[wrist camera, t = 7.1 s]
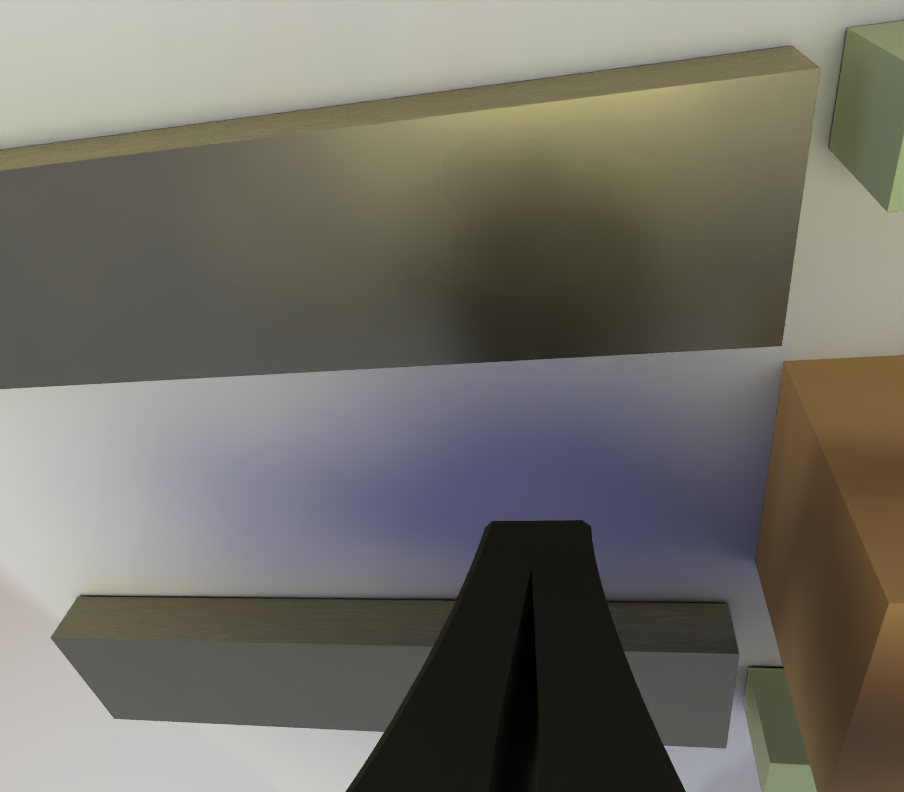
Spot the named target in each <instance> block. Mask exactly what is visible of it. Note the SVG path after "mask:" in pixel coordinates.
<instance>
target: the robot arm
mask: <svg viewBox="0 0 904 792" xmlns="http://www.w3.org/2000/svg"><path fill="white" fill-rule="evenodd" d="M346 792H686V791H685V789H684V787H683V785H682V783H681V781H680V779H679V777H678V775H677V773H676V771H675V769H674V767H673V764H672V762H671V760H670V758H669V756H668V754H667V752H666V750H665V747H664V745H663V743H662V741H661V739H660V736H659V734H658V732H657V730H656V727H655V725H654V723H653V721H652V718H651V716H650V714H649V712H648V710H647V707H646V705H645V703H644V700H643V698H642V695H641V693H640V691H639V688H638V686H637V683H636V681H635V679H634V676H633V673H632V671H631V668H630V666H629V663H628V660H627V658H626V655H625V652H624V650H623V647H622V644H621V642H620V639H619V637H618V634H617V631H616V628H615V625H614V622H613V620H612V617H611V614H610V611H609V607H608V604H607V601H606V597H605V594H604V591H603V587H602V584H601V580H600V576H599V572H598V568H597V564H596V559H595V554H594V548H593V542H592V533H591V526H590V525H588V524H587V523H585V522H584V521H583V520H563V521H492V522H491V523H490V524H488V525H487V526H486V527H485V529H484V532H483V535H482V538H481V541H480V544H479V547H478V550H477V552H476V555H475V557H474V560H473V562H472V565H471V567H470V570H469V572H468V574H467V577H466V579H465V582H464V584H463V586H462V588H461V590H460V593H459V595H458V597H457V599H456V601H455V603H454V606H453V608H452V610H451V612H450V614H449V616H448V618H447V620H446V622H445V624H444V626H443V628H442V630H441V632H440V634H439V636H438V638H437V640H436V642H435V644H434V646H433V648H432V650H431V652H430V654H429V655H428V657H427V659H426V661H425V663H424V665H423V667H422V668H421V670H420V672H419V674H418V676H417V677H416V679H415V681H414V682H413V684H412V686H411V688H410V689H409V691H408V693H407V695H406V696H405V698H404V700H403V702H402V703H401V705H400V707H399V708H398V710H397V712H396V714H395V715H394V717H393V719H392V721H391V722H390V724H389V726H388V727H387V729H386V731H385V732H384V734H383V735H382V737H381V739H380V740H379V742H378V743H377V745H376V746H375V748H374V750H373V751H372V753H371V754H370V756H369V757H368V759H367V761H366V762H365V764H364V765H363V767H362V768H361V770H360V771H359V773H358V774H357V776H356V777H355V779H354V780H353V782H352V783H351V785H350V786H349V788H348V789H347V790H346Z"/></svg>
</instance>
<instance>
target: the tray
mask: <svg viewBox="0 0 904 792" xmlns="http://www.w3.org/2000/svg"><path fill="white" fill-rule="evenodd" d="M829 149H830V150H831V151H832V152H833V153H834V155H835V156H836V157H837V158H838V159H839V160H840V161H841V162H842V163H843V164H844V165H845V167H846V168H847V169H848V170H849V171H850V172H851V173H852V174H853V175H854V176H855V177H856V179H857V180H858V181H859V182H860V183H861V184H862V185H863V186H864V187H865V188H866V189H867V190H868V192H869V193H870V194H871V195H872V196H873V197H874V198H875V199H876V200H877V201H878V202H879V204H880V205H881V206H882V207H883V208H884V209H885V210H886V211H887V212H894V211H904V20H903V21H896V22H888V23H881V24H873V25H866V26H858V27H851V28H847V34H846V40H845V47H844V53H843V59H842V66H841V72H840V79H839V85H838V92H837V98H836V105H835V111H834V118H833V124H832V131H831V137H830V144H829ZM743 704H744V708H745V713H746V718H747V723H748V727H749V732H750V737H751V742H752V747H753V751H754V756H755V761H756V766H757V770H758V775H759V780H760V785H761V790H762V792H817V790H816V786H815V782H814V779H813V775H812V771H811V767H810V764H809V760H808V756H807V753H806V749H805V745H804V741H803V738H802V734H801V730H800V726H799V723H798V719H797V715H796V712H795V708H794V704H793V700H792V697H791V693H790V689H789V685H788V682H787V678H786V674H785V670H784V669H782V668H749V669H748V675H747V682H746V688H745V695H744V701H743Z"/></svg>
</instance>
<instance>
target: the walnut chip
mask: <svg viewBox="0 0 904 792" xmlns="http://www.w3.org/2000/svg"><path fill="white" fill-rule="evenodd" d="M755 562H756V566H757V570H758V574H759V577H760V581H761V585H762V588H763V592H764V596H765V600H766V603H767V607H768V611H769V615H770V618H771V622H772V626H773V629H774V633H775V637H776V641H777V644H778V648H779V652H780V656H781V659H782V663H783V667H784V670H785V674H786V678H787V682H788V685H789V689H790V693H791V697H792V700H793V704H794V708H795V712H796V715H797V719H798V723H799V726H800V730H801V734H802V738H803V741H804V745H805V749H806V753H807V756H808V760H809V764H810V767H811V771H812V775H813V779H814V782H815V786H816V790H817V792H904V355H900V356H880V357H860V358H840V359H820V360H800V361H784V365H783V372H782V378H781V385H780V392H779V399H778V406H777V413H776V420H775V427H774V434H773V441H772V448H771V455H770V462H769V469H768V476H767V482H766V489H765V496H764V503H763V510H762V517H761V524H760V531H759V538H758V545H757V552H756V559H755Z"/></svg>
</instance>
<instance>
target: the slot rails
mask: <svg viewBox="0 0 904 792" xmlns="http://www.w3.org/2000/svg"><path fill="white" fill-rule="evenodd" d="M819 72H820V68H819V67H818V66H817V65H816V64H814V63H813V62H812V61H811V60H809V59H808V58H807V57H806V56H804V55H803V54H802V53H801V52H799V51H798V50H797V49H796V48H794V47H793V46H788V47H780V48H773V49H765V50H758V51H750V52H742V53H735V54H727V55H720V56H712V57H704V58H697V59H689V60H682V61H674V62H666V63H659V64H651V65H644V66H636V67H628V68H621V69H613V70H606V71H598V72H590V73H583V74H575V75H568V76H560V77H552V78H545V79H537V80H530V81H522V82H514V83H507V84H499V85H492V86H484V87H476V88H469V89H461V90H454V91H446V92H438V93H431V94H423V95H416V96H408V97H400V98H393V99H385V100H378V101H370V102H362V103H355V104H347V105H340V106H332V107H324V108H317V109H309V110H301V111H294V112H286V113H279V114H271V115H263V116H256V117H248V118H241V119H233V120H225V121H218V122H210V123H203V124H195V125H187V126H180V127H172V128H165V129H157V130H149V131H142V132H134V133H127V134H119V135H111V136H104V137H96V138H89V139H81V140H73V141H66V142H58V143H51V144H43V145H35V146H28V147H20V148H13V149H5V150H0V389H10V388H28V387H46V386H65V385H83V384H101V383H119V382H137V381H155V380H173V379H192V378H210V377H228V376H246V375H264V374H282V373H300V372H318V371H337V370H355V369H373V368H391V367H409V366H427V365H445V364H463V363H482V362H500V361H518V360H536V359H554V358H572V357H590V356H609V355H627V354H645V353H663V352H681V351H699V350H717V349H735V348H754V347H772V346H782V340H783V333H784V326H785V318H786V311H787V304H788V297H789V289H790V282H791V275H792V268H793V260H794V253H795V246H796V239H797V231H798V224H799V217H800V210H801V203H802V195H803V188H804V181H805V174H806V166H807V159H808V152H809V145H810V137H811V130H812V123H813V116H814V108H815V101H816V94H817V87H818V80H819ZM454 603H455V601H433V600H342V599H250V598H159V597H77V599H76V600H75V602H74V603H73V605H72V606H71V608H70V609H69V611H68V612H67V614H66V615H65V617H64V618H63V620H62V621H61V623H60V624H59V626H58V627H57V629H56V630H55V632H54V633H53V635H52V636H51V639H52V640H53V641H54V642H55V644H56V645H57V646H58V648H59V649H60V650H61V651H62V653H63V654H64V655H65V657H66V658H67V659H68V660H69V661H70V663H71V664H72V665H73V667H74V668H75V669H76V670H77V672H78V673H79V674H80V676H81V677H82V678H83V679H84V681H85V682H86V683H87V684H88V686H89V687H90V688H91V689H92V691H93V692H94V693H95V695H96V696H97V697H98V698H99V700H100V701H101V702H102V703H103V705H104V706H105V707H106V708H107V710H108V711H109V712H110V713H111V715H112V716H113V717H114V719H131V720H152V721H172V722H192V723H213V724H234V725H254V726H275V727H295V728H316V729H337V730H357V731H378V732H385V731H386V729H387V727H388V726H389V724H390V722H391V721H392V719H393V717H394V715H395V714H396V712H397V710H398V708H399V707H400V705H401V703H402V702H403V700H404V698H405V696H406V695H407V693H408V691H409V689H410V688H411V686H412V684H413V682H414V681H415V679H416V677H417V676H418V674H419V672H420V670H421V668H422V667H423V665H424V663H425V661H426V659H427V657H428V655H429V654H430V652H431V650H432V648H433V646H434V644H435V642H436V640H437V638H438V636H439V634H440V632H441V630H442V628H443V626H444V624H445V622H446V620H447V618H448V616H449V614H450V612H451V610H452V608H453V606H454ZM607 604H608V607H609V611H610V614H611V617H612V620H613V622H614V625H615V628H616V631H617V634H618V637H619V639H620V642H621V644H622V647H623V650H624V652H625V655H626V658H627V660H628V663H629V666H630V668H631V671H632V673H633V676H634V679H635V681H636V683H637V686H638V688H639V691H640V693H641V695H642V698H643V700H644V703H645V705H646V707H647V710H648V712H649V714H650V716H651V718H652V721H653V723H654V725H655V727H656V730H657V732H658V734H659V736H660V739H661V741H662V743H663V745H667V746H687V747H708V748H726V745H727V738H728V731H729V724H730V716H731V709H732V702H733V695H734V687H735V680H736V673H737V666H738V658H739V651H738V647H737V642H736V637H735V633H734V628H733V624H732V619H731V614H730V610H729V605H728V604H707V603H616V602H607Z"/></svg>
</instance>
